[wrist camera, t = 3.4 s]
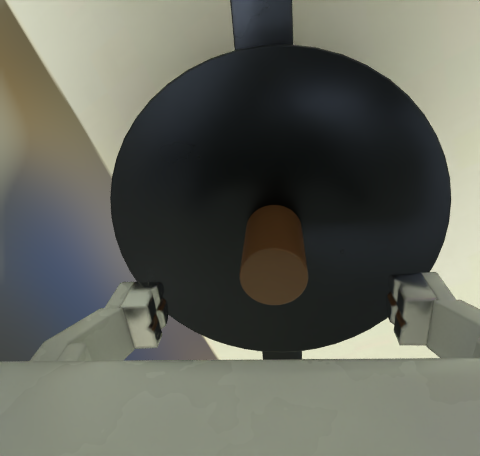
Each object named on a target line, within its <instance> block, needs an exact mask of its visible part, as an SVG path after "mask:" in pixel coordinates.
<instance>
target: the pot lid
mask: <svg viewBox="0 0 480 456" xmlns="http://www.w3.org/2000/svg"><path fill="white" fill-rule="evenodd" d="M110 198H111V215H112V222H113V227H114V232H115V236H116V240H117V242H118V245H119V248H120V250H121V254H122V256H123V258H124V260H125V262H126V264H127V266H128V268H129V270H130V272H131V273H132V275H133V276H134V278H135V279H136V281H137V282H162V283H163V287H164V290H165V291H164V294H163V296H162V297H163V298H164V299H165V300H166V301H167V304H168V315H170V316H171V317H173V318H174V319H175V320H177V321H178V322H179V323H181V324H183V325H185V326H186V327H188V328H190V329H191V330H193V331H194V332H197V333H199V334H201V335H203V336H205V337H207V338H210V339H212V340H215V341H218V342H221V343H224V344H227V345H230V346H235V347H239V348H243V349H249V350H256V351H264V352H294V351H304V350H310V349H317V348H321V347H325V346H329V345H333V344H336V343H339V342H342V341H344V340H347V339H350V338H352V337H355V336H357V335H359V334H361V333H363V332H365V331H367V330H369V329H371V328H372V327H374V326H375V325H377V324H379V323H380V322H382V321H383V320H385V319H386V318H388V314H387V307H386V298H387V294H388V293H389V292H390V289H389V286H388V278H389V275H392V274H412V273H426V272H430V270H431V269H432V267H433V265H434V264H435V262H436V260H437V258H438V255H439V253H440V250H441V248H442V245H443V243H444V240H445V236H446V232H447V228H448V224H449V217H450V207H451V189H450V176H449V172H448V167H447V163H446V158H445V155H444V152H443V150H442V147H441V145H440V142H439V140H438V137H437V135H436V133H435V132H434V130H433V128H432V126H431V125H430V123H429V121H428V120H427V118H426V116H425V115H424V114H423V112H422V111H421V110H420V109H419V108H418V106H417V105H416V104H415V103H414V102H413V100H412V99H411V98H410V97H409V96H408V95H407V94H406V93H405V92H404V91H403V90H401V89H400V88H399V87H398V86H397V85H396V84H395V83H393V82H392V81H391V80H390V79H388V78H387V77H385V76H384V75H382V74H380V73H379V72H377V71H376V70H374V69H373V68H371V67H369V66H368V65H365V64H363V63H361V62H359V61H356V60H354V59H352V58H349V57H347V56H345V55H342V54H339V53H335V52H331V51H328V50H324V49H320V48H316V47H308V46H300V45H291V44H283V45H261V46H255V47H249V48H244V49H238V50H235V51H232V52H229V53H225V54H222V55H219V56H216V57H213V58H211V59H209V60H207V61H205V62H203V63H201V64H199V65H197V66H195V67H193V68H191V69H189V70H187V71H186V72H184V73H183V74H181V75H180V76H178V77H177V78H176V79H174V80H173V81H171V82H170V83H168V84H167V85H166V86H165V87H164V88H163V89H162V90H161V91H160V92H159V93H157V94H156V95H155V96H154V97H153V98H152V99H151V100H150V101H149V102H148V104H147V105H146V106H145V107H144V109H143V110H142V111H141V112H140V114H139V115H138V116H137V118H136V119H135V121H134V122H133V124H132V126H131V128H130V129H129V131H128V133H127V134H126V136H125V138H124V140H123V143H122V146H121V148H120V151H119V153H118V156H117V159H116V163H115V167H114V172H113V176H112V185H111V197H110Z"/></svg>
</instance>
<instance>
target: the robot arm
mask: <svg viewBox="0 0 480 456" xmlns="http://www.w3.org/2000/svg"><path fill="white" fill-rule="evenodd" d="M388 286H389V289H390V292H389V293H388V294H387V298H386V307H387V314H388V318H389V320H390V322H391V323H393V324H394V333H395V335H396V337H397V340H398V342H399V345H427V347H428V348H429V349H430V350H431V351H433V352H434V353H435V354H436V355H437V356H439V357H440V358H418V359H287V360H163V361H162V360H152V361H123V360H124V359H125V358H126V357H127V356H128V355H129V354H130V353H132V352H133V351H134V349H138V348H139V349H140V348H157V347H158V344H159V342H160V339H161V337H162V331H161V329H162V328H164V327H165V326H166V323H167V320H168V304H167V301H166V300H165V299H164V298H163V297H162V296H163V294H164V291H165V290H164V287H163V283H162V282H122V283H120V285H119V286H118V288H117V289H116V291H115V292H114V294H113V296H112V297H111V299H110V300H109V302H108V303H107V305H106V307H105V308H102V309H99V310H97V311H95V312H94V313H92V314H90V315H89V316H87V317H85V318H84V319H82V320H80V321H79V322H77V323H75V324H74V325H72V326H70V327H69V328H67V329H65V330H64V331H62V332H60V333H59V334H57V335H55V336H53V337H52V338H50V339H48V340H47V341H45V342H44V343H43V344H42V345H41V347H40V348H39V349H38V351H37V352H36V353H35V354H34V356H33V357H32V358H31V360H30V361H23V362H22V361H21V362H20V361H17V362H16V361H15V362H0V456H480V309H478V308H476V307H474V306H472V305H470V304H468V303H466V302H464V301H462V300H456V299H455V297H454V296H453V295H452V293H451V292H450V290H449V289H448V287H447V286H446V285H445V283H444V282H443V280H442V279H441V277H440V276H439V275H438V273H436V272H426V273H412V274H392V275H389V278H388Z"/></svg>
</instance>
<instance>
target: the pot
mask: <svg viewBox="0 0 480 456" xmlns="http://www.w3.org/2000/svg"><path fill="white" fill-rule="evenodd" d="M230 3H231V14H232V25H233V36H234V47H235V50H238V49H244V48H249V47H255V46H261V45H283V44H291V45H293V18H292V0H230ZM262 353H263V360H287V359H302V351H294V352H264V351H262Z"/></svg>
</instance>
